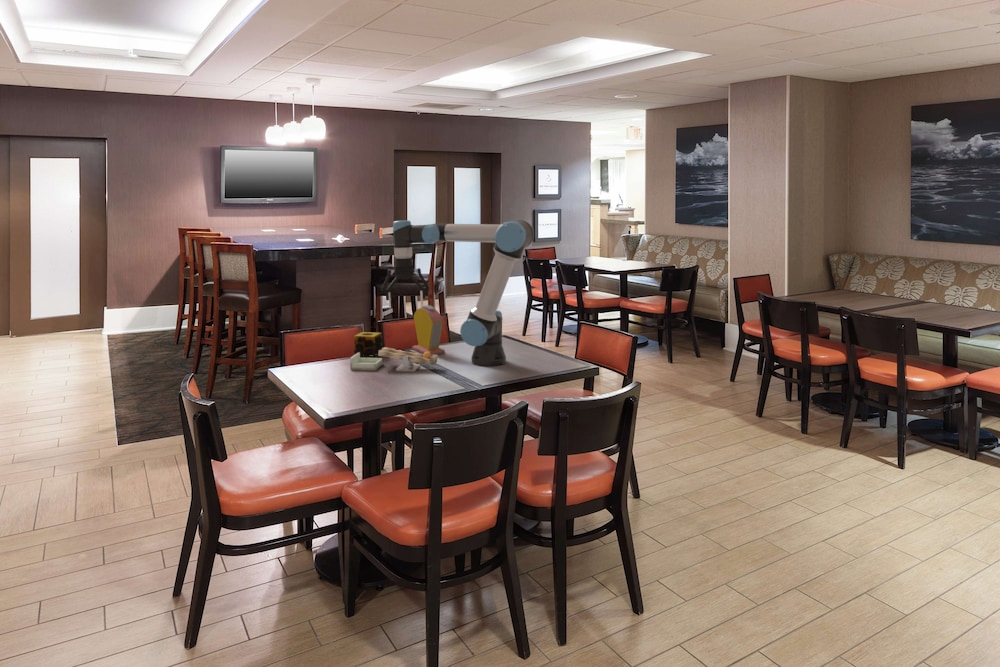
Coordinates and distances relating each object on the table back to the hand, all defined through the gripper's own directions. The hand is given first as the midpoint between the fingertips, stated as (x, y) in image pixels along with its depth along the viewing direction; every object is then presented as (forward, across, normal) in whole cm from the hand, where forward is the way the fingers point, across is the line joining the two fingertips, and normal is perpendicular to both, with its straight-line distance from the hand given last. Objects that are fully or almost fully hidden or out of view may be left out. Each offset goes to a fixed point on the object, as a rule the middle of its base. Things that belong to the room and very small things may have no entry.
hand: (406, 307), depth 320 cm
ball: (+19, -7, +12) cm, 24 cm away
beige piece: (+21, 0, +6) cm, 22 cm away
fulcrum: (+25, +1, +9) cm, 26 cm away
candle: (+24, +18, -19) cm, 35 cm away
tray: (+24, +18, +4) cm, 30 cm away
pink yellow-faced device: (+25, -10, -23) cm, 35 cm away
